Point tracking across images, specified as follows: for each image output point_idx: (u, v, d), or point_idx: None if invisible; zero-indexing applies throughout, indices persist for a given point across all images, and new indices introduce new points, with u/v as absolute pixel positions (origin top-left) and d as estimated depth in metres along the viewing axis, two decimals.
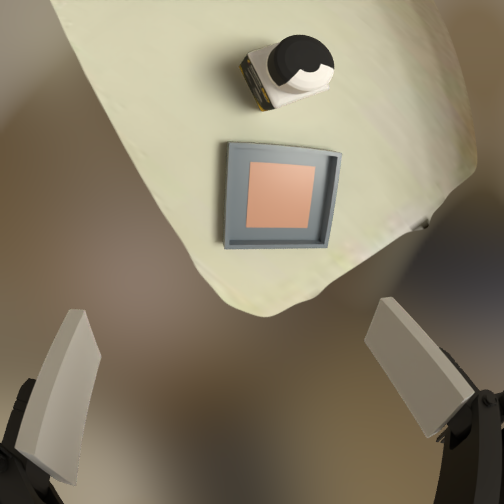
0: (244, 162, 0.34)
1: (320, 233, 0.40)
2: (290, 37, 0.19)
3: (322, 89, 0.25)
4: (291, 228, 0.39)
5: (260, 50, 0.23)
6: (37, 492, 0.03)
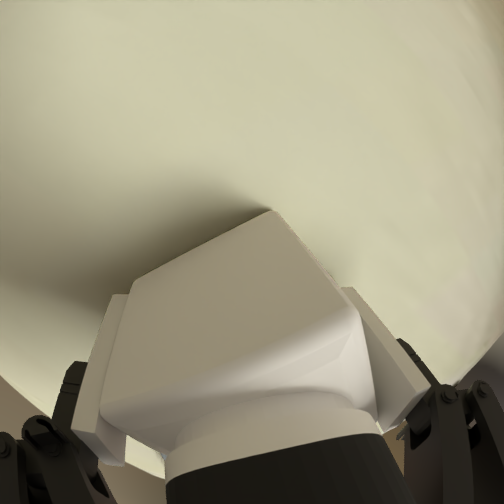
0: None
1: None
2: None
3: None
4: None
5: (135, 414, 0.05)
6: None
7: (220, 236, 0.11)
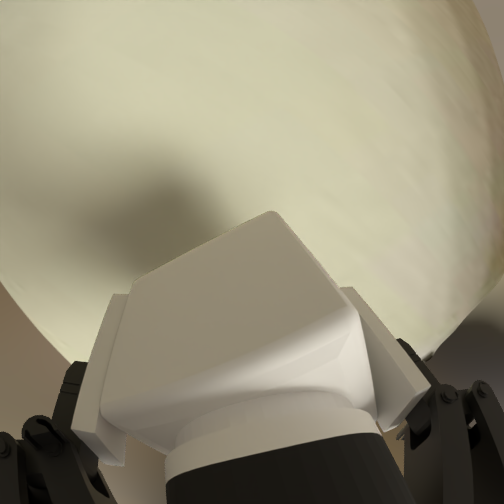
0: None
1: None
2: None
3: None
4: None
5: (136, 413, 0.05)
6: None
7: (220, 236, 0.11)
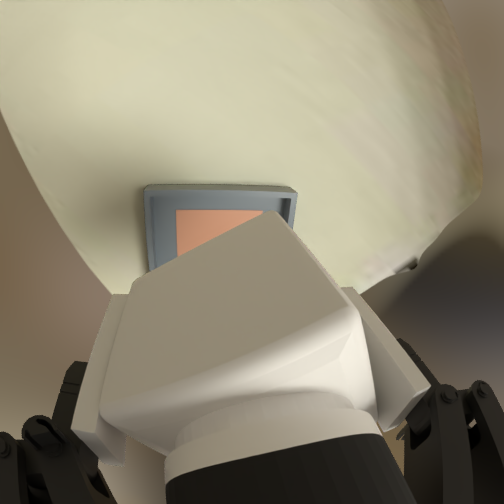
0: (169, 211, 0.27)
1: None
2: None
3: None
4: None
5: (135, 414, 0.05)
6: None
7: (220, 236, 0.11)
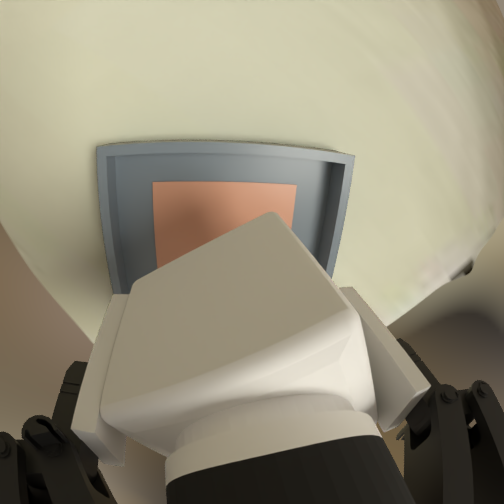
0: (142, 184, 0.15)
1: None
2: None
3: None
4: None
5: (136, 416, 0.05)
6: None
7: (220, 237, 0.11)
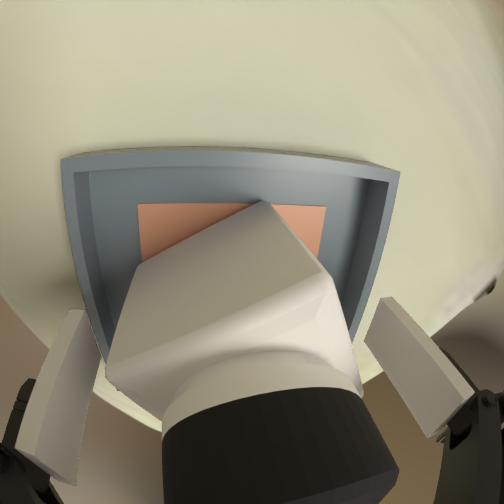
0: (124, 206, 0.11)
1: None
2: None
3: None
4: None
5: (138, 372, 0.06)
6: (37, 492, 0.03)
7: (217, 223, 0.12)
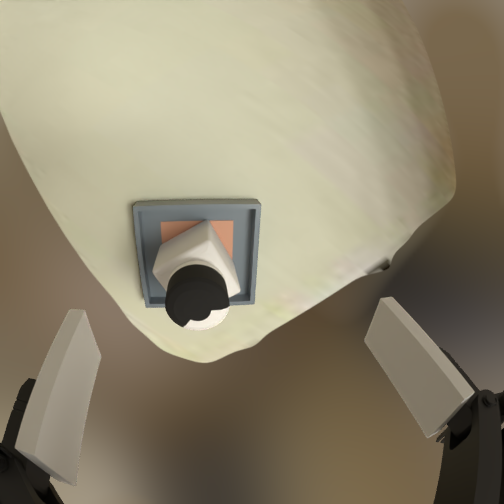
0: (155, 222, 0.32)
1: (248, 288, 0.38)
2: (177, 284, 0.23)
3: (232, 294, 0.30)
4: None
5: (163, 268, 0.27)
6: (37, 492, 0.03)
7: (190, 228, 0.33)
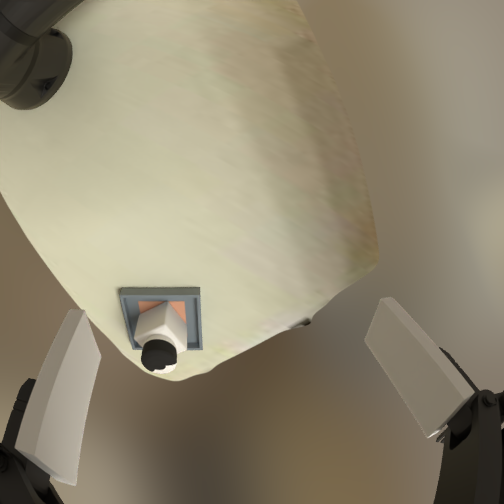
0: (134, 301, 0.48)
1: (198, 339, 0.54)
2: (146, 352, 0.39)
3: (181, 351, 0.46)
4: None
5: (139, 337, 0.43)
6: (37, 492, 0.03)
7: (156, 306, 0.49)
